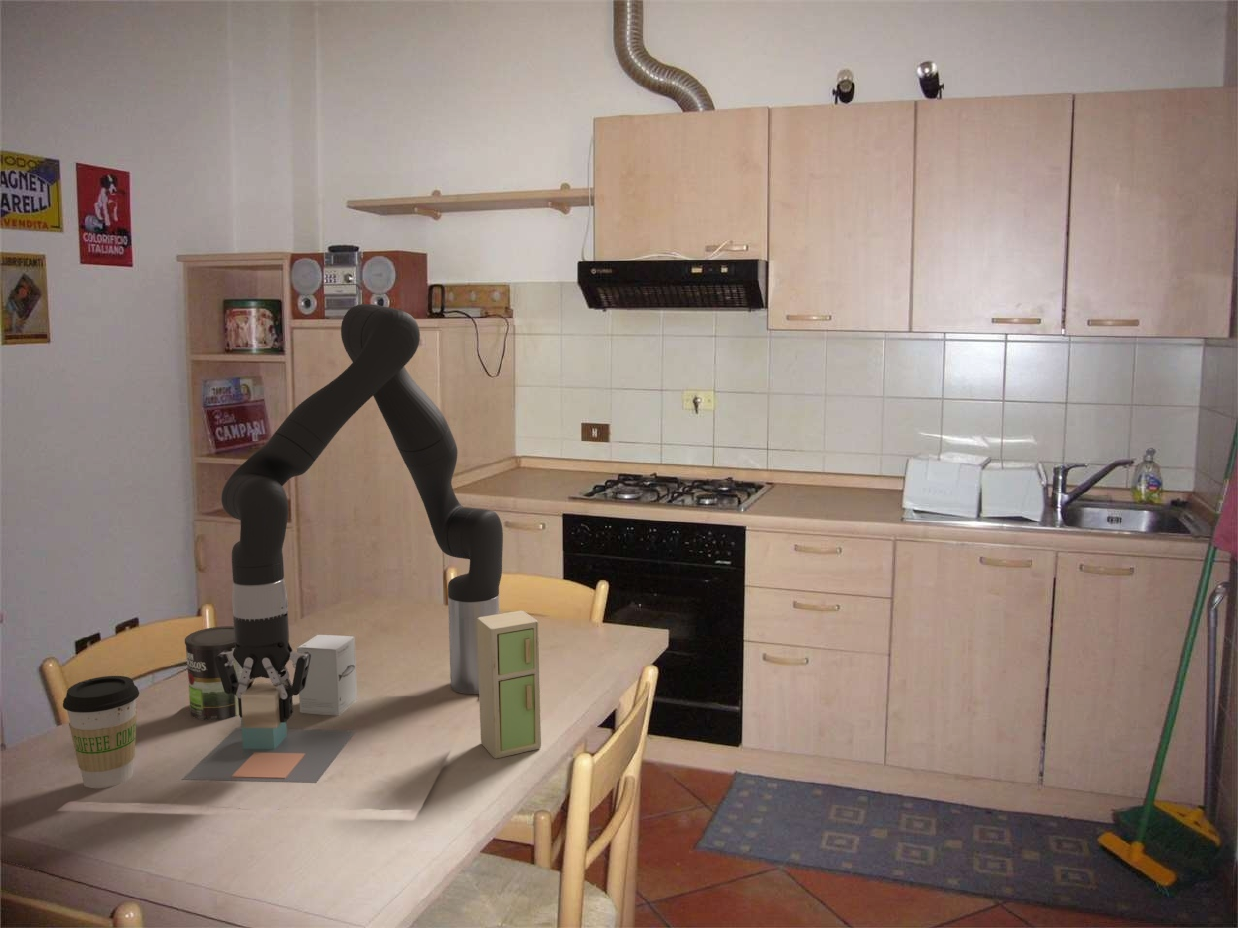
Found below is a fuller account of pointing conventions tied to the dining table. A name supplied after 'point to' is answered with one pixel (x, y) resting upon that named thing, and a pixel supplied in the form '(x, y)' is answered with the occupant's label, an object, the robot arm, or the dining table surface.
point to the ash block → (260, 706)
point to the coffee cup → (103, 728)
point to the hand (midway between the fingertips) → (266, 719)
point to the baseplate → (273, 758)
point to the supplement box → (329, 675)
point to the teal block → (263, 737)
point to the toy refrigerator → (509, 683)
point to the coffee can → (210, 674)
